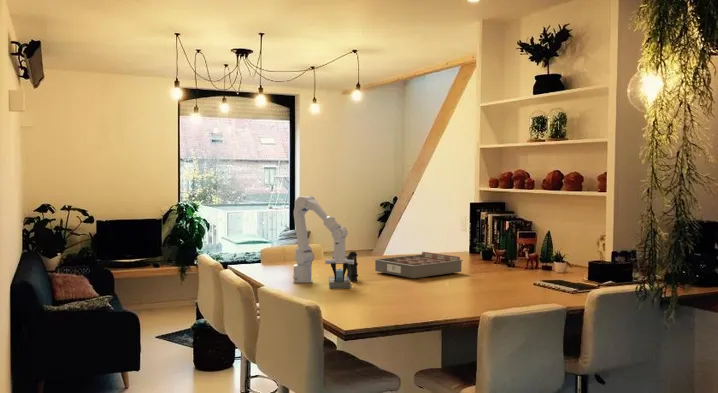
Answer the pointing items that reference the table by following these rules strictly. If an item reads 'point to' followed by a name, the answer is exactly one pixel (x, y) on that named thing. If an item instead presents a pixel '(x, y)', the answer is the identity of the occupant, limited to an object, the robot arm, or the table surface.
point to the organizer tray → (419, 265)
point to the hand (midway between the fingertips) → (339, 278)
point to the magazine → (352, 267)
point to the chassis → (339, 283)
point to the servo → (339, 274)
